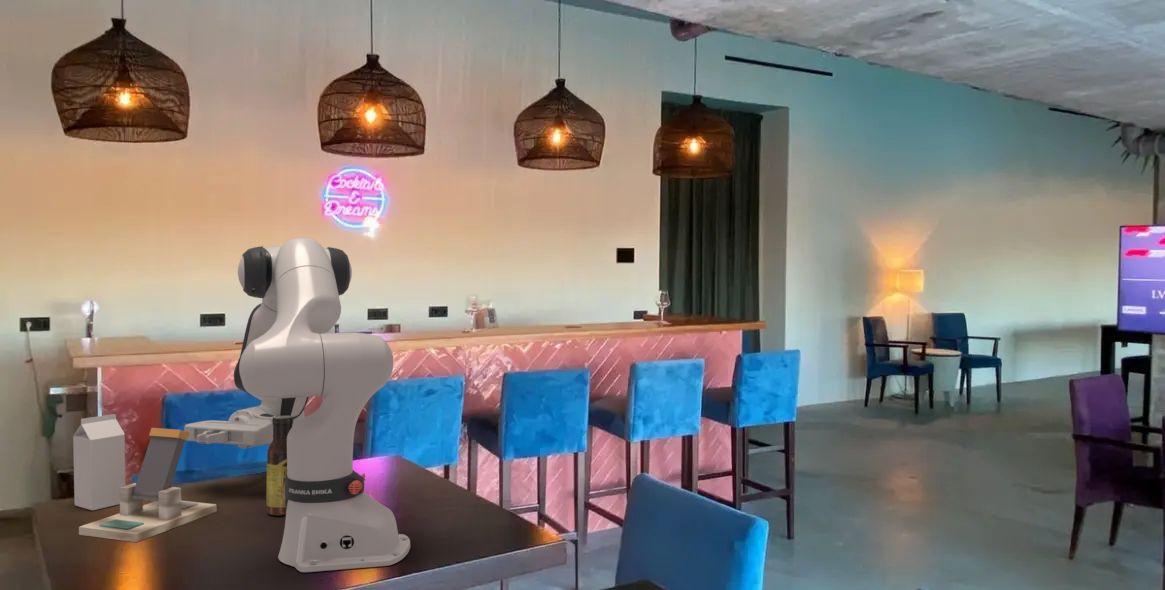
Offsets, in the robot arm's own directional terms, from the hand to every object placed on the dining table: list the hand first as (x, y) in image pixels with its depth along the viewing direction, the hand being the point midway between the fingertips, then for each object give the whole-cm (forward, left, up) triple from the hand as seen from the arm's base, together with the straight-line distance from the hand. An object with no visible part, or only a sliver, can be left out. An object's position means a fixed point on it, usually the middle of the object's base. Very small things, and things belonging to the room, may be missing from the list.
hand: (202, 439), depth 174 cm
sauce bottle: (-19, +7, -14) cm, 25 cm away
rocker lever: (+5, +13, -8) cm, 16 cm away
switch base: (+5, +13, -14) cm, 19 cm away
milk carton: (+22, 0, -14) cm, 26 cm away
